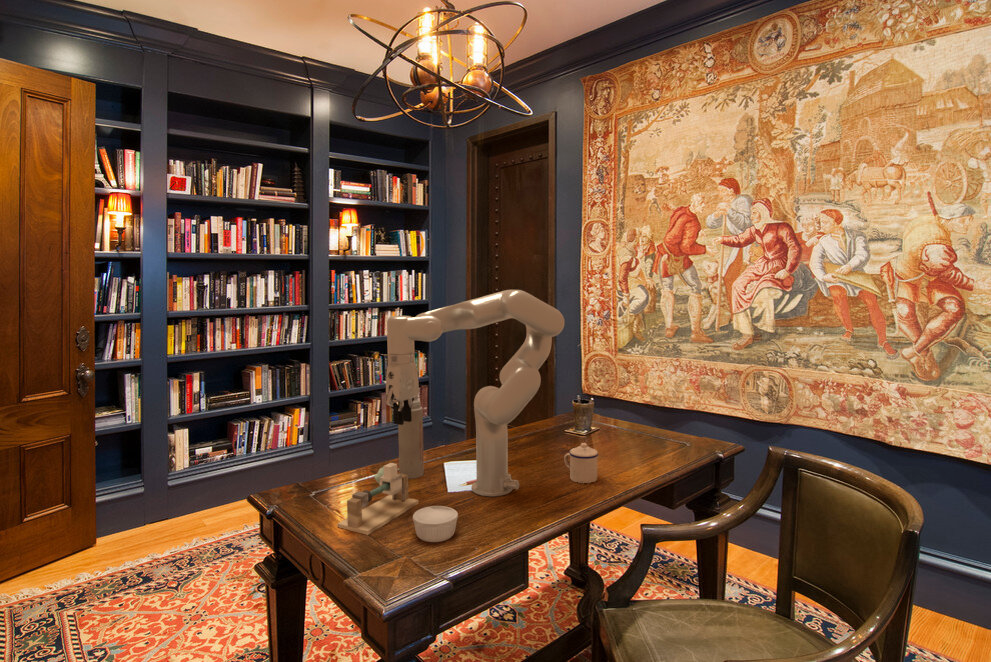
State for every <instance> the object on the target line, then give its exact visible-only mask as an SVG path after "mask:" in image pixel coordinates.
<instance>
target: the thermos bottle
mask: <svg viewBox="0 0 991 662" xmlns="http://www.w3.org/2000/svg"><path fill="white" fill-rule="evenodd" d="M412 404H413V406H412V408H411V417H412V421H411V422H406V421H404V424H403V425H398V424H397V429H398V430H397V431H398V434H397V435H398V468H399V469H398V471H399V472H398V474H404V475H408V480H410V479H411V480H412V479H417V478H420V477H422V476H423V475H424V473H425V471H424V422H423V421H424V419H423V414H424V411H423V407H422V406H421V400H420V399H418V395H417V396H416V398H415V399H414V401H413V403H412ZM402 407H403V405H402Z"/></svg>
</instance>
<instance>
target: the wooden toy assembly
mask: <svg viewBox="0 0 991 662" xmlns="http://www.w3.org/2000/svg"><path fill="white" fill-rule="evenodd" d="M397 474H398V475H402V491H400V492H398V493H397V494H395V495H389V494H387V496H384V497H382V498H380V499H379V500H377V501H376V502H374V503H372V504H370V505H369V503H371V502H372V499H373V497H376V495H378V494H382V493H381V492H383V491H385V490H386V489H388V488H390V482H387V483H385V484H383V485H381V486H380V485H379V486H378V487H376V488H374V489H372V490H370V491H369V490H367V489H366V490H363V491H356V492H354V493H353V494H351V498H348V499H347V500H346V507H347V508H346V509H347V517H346V518H344V519H343V520H342V521H339V522H338V523H337V525H336V527H337V528H338V527H339V529H342V528H343V530H346V529H347V530H346V531H351V532H353V533H354V532H355V533H358V534H361V535H362V534H363V535H366V536H368V535H370V534H372V533H373V532H375V531H377V530H378V529H380V528H381V527H383V526H384V525H386V524H388V523H389V522H391V521H393V520H394V519H396V518H398V517H400V516H401V515H402V514H404V513H406V512H407V511H409V510H411V509H412V508H414V507H415V506H417V505H419V499H415V498H411V497H409V479H408V475H404V474H399V473H397Z"/></svg>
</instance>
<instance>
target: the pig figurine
mask: <svg viewBox="0 0 991 662" xmlns="http://www.w3.org/2000/svg"><path fill="white" fill-rule="evenodd" d="M398 471H399V470H397V473H399V472H398ZM383 475H384V466H382V467H380V468H379V470H378V471H377V473H376V474H374V480H375V481H376V482H377V483H378V485H379V486H380V477H381V476H383Z"/></svg>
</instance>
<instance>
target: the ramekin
mask: <svg viewBox="0 0 991 662" xmlns="http://www.w3.org/2000/svg"><path fill="white" fill-rule="evenodd" d="M458 517H459V513H458V511H457V510H455V509H454V508H452V507H450V506H449V507H448V506H444V505H431V506H425V507H422V508H420V509H417V510H415V512H414V513H413V515H412V521H413V525H414V529H415V533H416V534H415V535H416V537H418V538H419V539H420V540H421V541H424V542H427V543H439V542H441V543H442V542H444V541H448V540H449V539H451V538H452V537H453V536H454V535H455V532H456V527H457V521H458Z"/></svg>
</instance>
